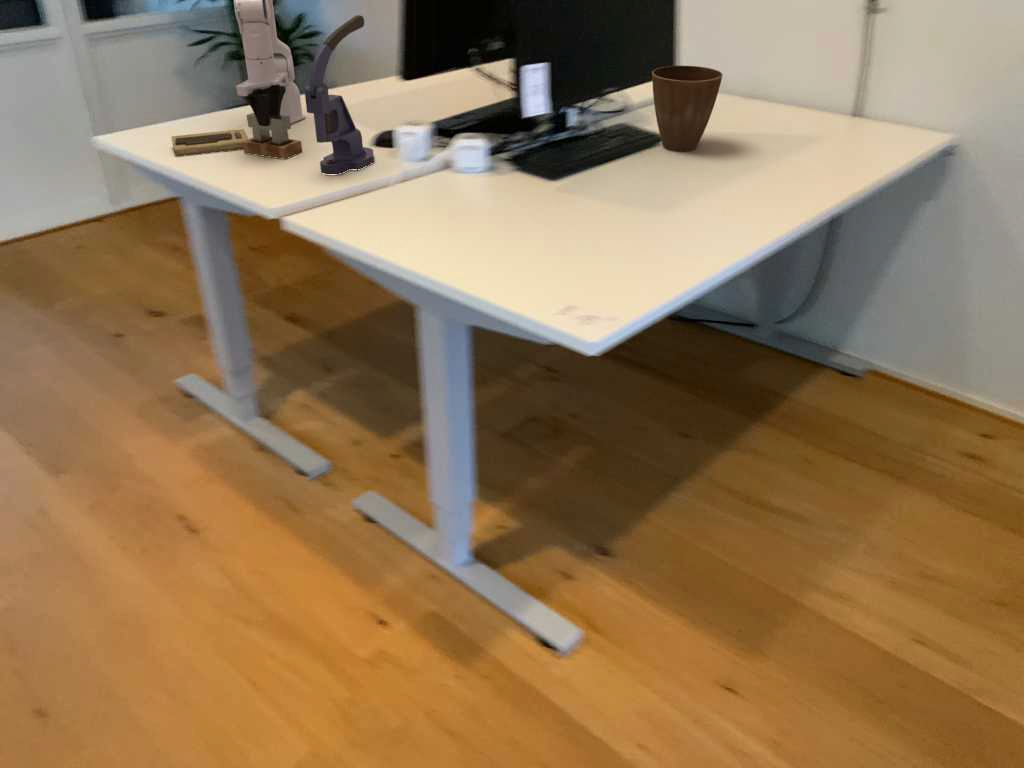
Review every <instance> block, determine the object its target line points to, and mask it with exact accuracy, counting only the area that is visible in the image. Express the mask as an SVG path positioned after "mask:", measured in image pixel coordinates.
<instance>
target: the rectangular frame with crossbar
mask: <svg viewBox="0 0 1024 768" xmlns="http://www.w3.org/2000/svg"><path fill="white" fill-rule="evenodd" d="M270 138H271V139H269V140H267V141H264V142H255V141H254V136H253V137H251V138H248V140H245V141H243V152H245V153H244V154H246V153H251V154H250V155H253V154H257V155H256V156H259V155H264V156H263V157H265V156H271V157H270V158H272V157H277V158H276V159H278V158H284V159H286V158H288V157H290V158H292V157H294V156H293V155H295V154H297V155H299V154H301V153H300V152H302V153H303V148H302V147H303V146H302V140H298V139H292V138H291V139H290V138H289V142H287V143H285V144H282V145H276V144H273V141H272V135H270ZM298 153H299V154H298ZM291 156H292V157H291ZM295 156H296V155H295ZM284 159H283V160H284ZM288 159H289V158H288ZM286 160H287V159H286Z"/></svg>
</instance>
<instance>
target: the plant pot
mask: <svg viewBox="0 0 1024 768" xmlns="http://www.w3.org/2000/svg"><path fill="white" fill-rule="evenodd" d="M651 74H652V75H651V76H652V79H651V81H652V93H653V94H652V95H653V103H654V105H653V106H654V112H655V117H656V123H657V127H658V131H659V133H658V134H659V136H660V140H661V143H662V147H663V148H664V149H666V150H668V151H672V150H673V151H674V152H688V151H687V150H691V151H694V150H696V149H697V147H698V145H699V142H700V141H701V139H702V137H703V135H704V133H705V130H706V128H707V126H708V123H709V121H710V118H711V115H712V113H713V111H714V107H715V105H716V104H715V103H716V101H717V97H718V93H719V90H720V87H721V84H722V79H723V72H721V71H720V70H718V69H714V68H710V67H703V66H699V65H698V66H696V65H669V66H668V65H667V66H661V67H658V68H655V69H654V70H652V72H651ZM695 148H696V149H695ZM693 149H694V150H693ZM673 151H672V152H673Z"/></svg>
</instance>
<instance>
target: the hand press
mask: <svg viewBox="0 0 1024 768" xmlns="http://www.w3.org/2000/svg"><path fill="white" fill-rule="evenodd" d="M364 26H365V19H364V16H363V15H358V14H357V15H355V16H353V17H352V18H351V19H349V20H347V21H346V22H345V23H343V24H342V25H341V26H339V27H338V28H337V29H335V30H334V31H333V32H332V33H331V34H329V36H327V38H326V39H325V40H324V41H323V42H322V45H321V46H320V48H319V49H318V52H317V53H316V55H315V57H314V59H313V62H312V65H311V71H310V76H309V85H308V84H307V85H306V86H305V88H304V97H305V108H306V113H308V114H313V121H314V129H315V138H316V142H317V143H320V144H321V143H331V145H332V153H329V154H328V155H326V156H323V159H322V160H320V162H319V168H320V173H321V172H322V173H325V174H339V173H343V172H345V171H347V170H349V169H357V170H358V169H361V168H363V167H365V166H368V165H369V166H371V165H372V164H371V163H373V162H374V163H375V156H374V149H372V148H371V147H365V146H363V135H362V133H361V130H360V129H359V128H356V125H355V122H354V120H353V119H352V118H353V117H352V115H351V114H350V112H349V111H350V110H349V109H348V106H347V104H346V102H345V100H344V98H343V96H342V95H338V94H329V88H328V84H326V83H325V82H324V79H325V74H326V71H327V70H326V69H327V66H328V62H329V61H330V57H331V55H332V54H333V52H334V51H335V50H336V48H337V46H338V45H339V44H340V42H342V41H343V39H345V38H346V37H347V36H349V34H352V33H353V32H355V31H358V30H359V29H362V28H363V27H364ZM374 163H373V164H374ZM370 164H371V165H370ZM369 166H368V167H369ZM349 171H350V170H349ZM347 172H348V171H347ZM322 173H321V174H322ZM345 173H346V172H345ZM343 174H344V173H343Z"/></svg>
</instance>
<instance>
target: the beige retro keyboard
mask: <svg viewBox="0 0 1024 768" xmlns="http://www.w3.org/2000/svg"><path fill="white" fill-rule="evenodd" d="M248 139H249V138H248V135H247V133H246V131H245V129H244V128H240V129H229V130H228V129H227V130H221V131H219V130H218V131H209V132H201V133H200V132H199V133H191V134H182V135H172V136H171V141H172V146H173V147H172V148H173V151H174V155H175V157H176V156H177V157H184V155H187V156H192V155H193V156H194V154H196V155H203V154H202V153H205V154H212V153H211V152H215V153H221V152H220V151H224V152H229V151H228V150H233V151H239V150H238V149H243V141H245V140H248ZM243 150H244V149H243Z"/></svg>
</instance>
